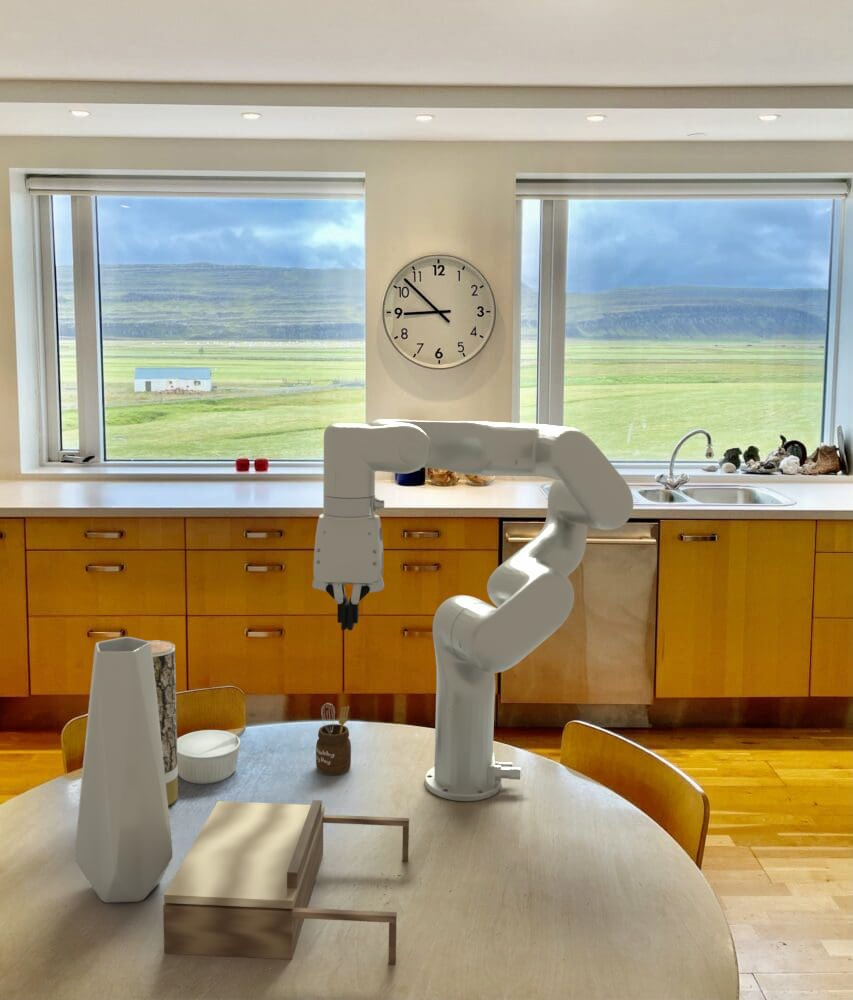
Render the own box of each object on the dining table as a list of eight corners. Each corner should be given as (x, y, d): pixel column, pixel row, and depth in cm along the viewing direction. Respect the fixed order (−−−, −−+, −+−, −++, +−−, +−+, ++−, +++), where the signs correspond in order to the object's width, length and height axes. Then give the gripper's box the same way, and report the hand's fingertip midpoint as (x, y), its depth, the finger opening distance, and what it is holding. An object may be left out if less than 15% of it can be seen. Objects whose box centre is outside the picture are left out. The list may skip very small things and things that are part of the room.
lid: (324, 812, 128) (324, 792, 127) (293, 908, 105) (293, 884, 105) (218, 807, 129) (217, 787, 128) (164, 902, 106) (163, 878, 105)
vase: (74, 873, 123) (65, 636, 118) (163, 857, 127) (158, 627, 122) (78, 925, 112) (68, 665, 107) (176, 904, 116) (170, 654, 111)
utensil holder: (336, 758, 160) (337, 692, 159) (359, 770, 156) (359, 702, 154) (308, 767, 156) (309, 700, 155) (330, 780, 152) (331, 711, 150)
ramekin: (232, 788, 149) (232, 757, 148) (164, 786, 149) (163, 756, 148) (247, 759, 160) (246, 730, 159) (183, 757, 160) (182, 728, 159)
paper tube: (165, 814, 139) (161, 655, 136) (124, 808, 141) (120, 651, 137) (185, 793, 146) (182, 642, 142) (146, 789, 147) (142, 638, 144)
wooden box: (408, 858, 128) (409, 818, 127) (395, 964, 106) (396, 916, 105) (217, 850, 130) (217, 810, 129) (164, 953, 107) (163, 905, 106)
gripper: (401, 504, 139) (399, 622, 141) (303, 502, 139) (303, 619, 142) (397, 512, 131) (395, 636, 134) (293, 509, 132) (293, 633, 135)
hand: (347, 627), depth 138 cm, fingers closed
